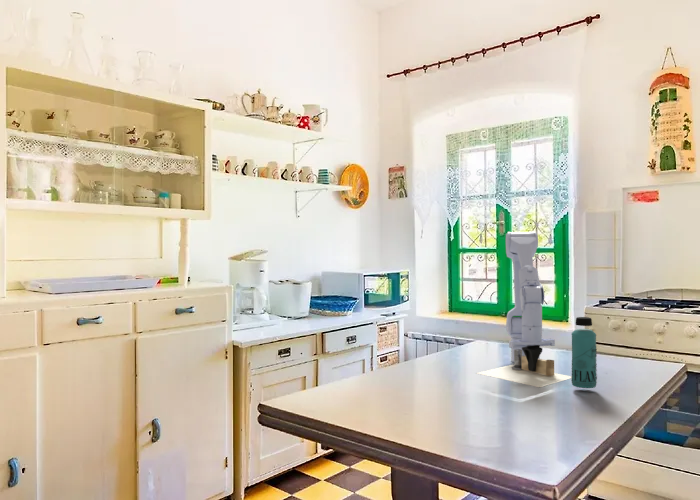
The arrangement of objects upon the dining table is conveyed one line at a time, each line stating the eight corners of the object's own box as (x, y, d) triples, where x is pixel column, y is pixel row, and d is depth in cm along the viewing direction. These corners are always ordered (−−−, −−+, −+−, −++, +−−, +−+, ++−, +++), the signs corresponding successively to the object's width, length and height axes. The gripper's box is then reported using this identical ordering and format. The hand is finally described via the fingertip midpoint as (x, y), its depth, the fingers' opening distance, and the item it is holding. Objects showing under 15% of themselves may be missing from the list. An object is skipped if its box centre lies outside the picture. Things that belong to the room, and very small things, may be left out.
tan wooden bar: (521, 369, 170) (521, 355, 170) (525, 368, 171) (524, 354, 171) (550, 376, 161) (550, 361, 161) (554, 375, 162) (554, 360, 162)
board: (511, 367, 179) (511, 364, 178) (575, 379, 161) (575, 377, 161) (475, 375, 167) (475, 373, 167) (540, 390, 150) (540, 387, 150)
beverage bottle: (569, 392, 148) (569, 318, 147) (572, 386, 154) (572, 315, 153) (596, 395, 145) (595, 319, 144) (598, 389, 150) (597, 316, 150)
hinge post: (516, 369, 175) (516, 348, 175) (527, 371, 172) (527, 350, 172) (509, 371, 173) (508, 349, 173) (519, 373, 170) (519, 351, 170)
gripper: (518, 328, 159) (518, 375, 159) (561, 326, 163) (561, 372, 163) (505, 325, 166) (505, 370, 166) (546, 323, 170) (546, 367, 170)
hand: (532, 370), depth 165 cm, fingers closed
